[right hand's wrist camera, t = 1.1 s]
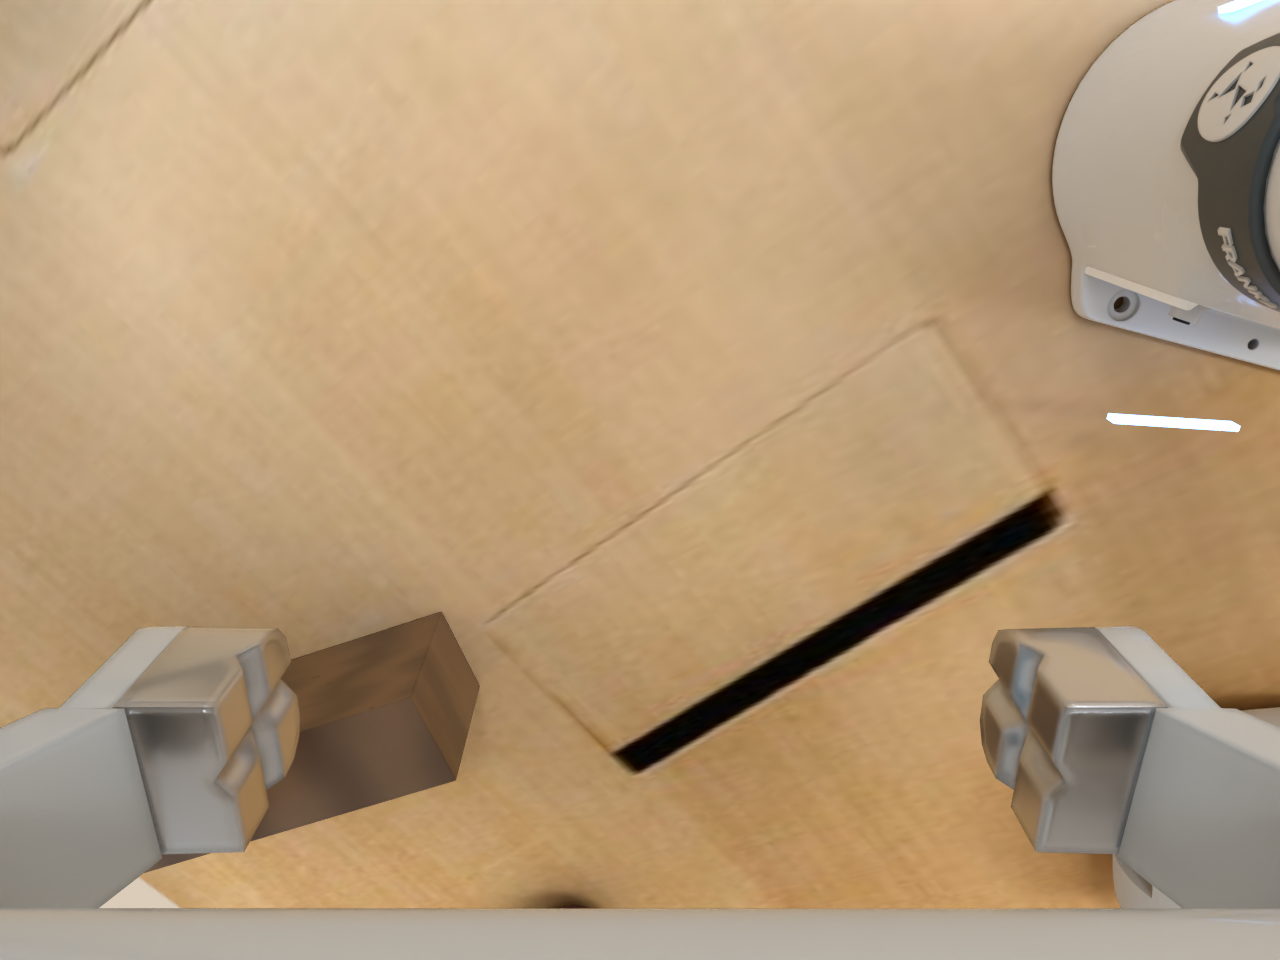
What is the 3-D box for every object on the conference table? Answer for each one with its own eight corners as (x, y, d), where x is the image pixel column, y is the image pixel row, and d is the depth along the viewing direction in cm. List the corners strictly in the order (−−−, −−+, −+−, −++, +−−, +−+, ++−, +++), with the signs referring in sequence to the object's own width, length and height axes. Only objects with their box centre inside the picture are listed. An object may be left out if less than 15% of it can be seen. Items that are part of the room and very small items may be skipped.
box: (441, 611, 55) (410, 697, 47) (480, 686, 58) (456, 780, 50) (126, 712, 58) (45, 810, 50) (174, 780, 60) (105, 885, 52)
